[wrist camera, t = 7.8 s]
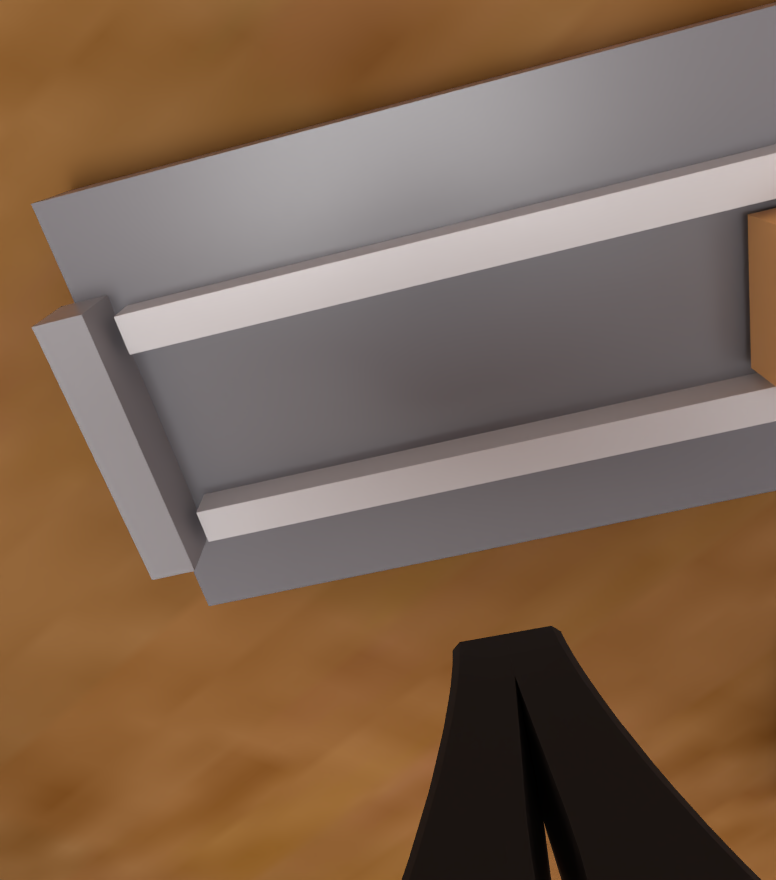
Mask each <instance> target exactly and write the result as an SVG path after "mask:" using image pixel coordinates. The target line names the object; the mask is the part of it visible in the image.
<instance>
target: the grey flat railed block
mask: <svg viewBox="0 0 776 880" xmlns="http://www.w3.org/2000/svg"><path fill="white" fill-rule="evenodd" d="M31 205H32V207H33V209H34V212H35V214H36V216H37V218H38V221H39V223H40V225H41V227H42V230H43V232H44V234H45V236H46V239H47V241H48V243H49V246H50V248H51V250H52V252H53V255H54V257H55V259H56V261H57V264H58V266H59V268H60V270H61V273H62V275H63V277H64V279H65V282H66V284H67V286H68V288H69V291H70V293H71V295H72V298H73V300H74V302H75V303H73V304H69V305H65V306H61V307H60V308H58V309H57V310H56V311H54V312H53V313H51V314H50V315H48V316H47V317H46V318H44V319H43V320H41V321H40V322H38V323H37V324H36V325H34V326H33V327H32V329H33V331H34V333H35V335H36V337H37V339H38V341H39V343H40V345H41V348H42V350H43V352H44V354H45V356H46V358H47V360H48V362H49V364H50V366H51V369H52V371H53V373H54V375H55V377H56V379H57V381H58V383H59V385H60V387H61V390H62V392H63V394H64V396H65V398H66V400H67V402H68V404H69V406H70V408H71V411H72V413H73V415H74V417H75V419H76V421H77V423H78V425H79V427H80V429H81V432H82V434H83V436H84V438H85V440H86V442H87V444H88V446H89V448H90V450H91V453H92V455H93V457H94V459H95V461H96V463H97V465H98V467H99V469H100V471H101V474H102V476H103V478H104V480H105V482H106V484H107V486H108V488H109V490H110V492H111V495H112V497H113V499H114V501H115V503H116V505H117V507H118V509H119V511H120V513H121V516H122V518H123V520H124V522H125V524H126V526H127V528H128V530H129V532H130V534H131V537H132V539H133V541H134V543H135V545H136V547H137V549H138V551H139V553H140V555H141V558H142V560H143V562H144V564H145V566H146V568H147V570H148V572H149V574H150V576H151V579H152V580H154V579H159V578H164V577H168V576H173V575H178V574H183V573H187V572H192V571H194V573H195V576H196V578H197V580H198V582H199V585H200V587H201V589H202V591H203V594H204V596H205V598H206V601H207V603H208V605H209V606H212V605H217V604H222V603H227V602H231V601H236V600H241V599H246V598H251V597H256V596H261V595H266V594H271V593H276V592H280V591H285V590H290V589H295V588H300V587H305V586H310V585H315V584H320V583H325V582H330V581H334V580H339V579H344V578H349V577H354V576H359V575H364V574H369V573H374V572H379V571H383V570H388V569H393V568H398V567H403V566H408V565H413V564H418V563H423V562H428V561H432V560H437V559H442V558H447V557H452V556H457V555H462V554H467V553H472V552H477V551H482V550H486V549H491V548H496V547H501V546H506V545H511V544H516V543H521V542H526V541H531V540H535V539H540V538H545V537H550V536H555V535H560V534H565V533H570V532H575V531H580V530H584V529H589V528H594V527H599V526H604V525H609V524H614V523H619V522H624V521H629V520H634V519H638V518H643V517H648V516H653V515H658V514H663V513H668V512H673V511H678V510H683V509H687V508H692V507H697V506H702V505H707V504H712V503H717V502H722V501H727V500H732V499H736V498H741V497H746V496H751V495H756V494H761V493H766V492H771V491H776V386H774V385H773V384H772V383H770V382H769V381H768V380H766V379H765V378H764V377H763V376H761V375H760V374H759V373H757V372H756V371H755V370H753V369H752V368H751V343H750V298H749V254H748V214H752V213H756V212H760V211H765V210H769V209H773V208H776V2H774V3H770V4H766V5H762V6H759V7H755V8H751V9H747V10H744V11H740V12H736V13H732V14H729V15H725V16H721V17H717V18H714V19H710V20H706V21H702V22H699V23H695V24H691V25H687V26H684V27H680V28H676V29H672V30H669V31H665V32H661V33H658V34H654V35H650V36H646V37H643V38H639V39H635V40H631V41H628V42H624V43H620V44H616V45H613V46H609V47H605V48H601V49H598V50H594V51H590V52H586V53H583V54H579V55H575V56H571V57H568V58H564V59H560V60H556V61H553V62H549V63H545V64H542V65H538V66H534V67H530V68H527V69H523V70H519V71H515V72H512V73H508V74H504V75H500V76H497V77H493V78H489V79H485V80H482V81H478V82H474V83H470V84H467V85H463V86H459V87H455V88H452V89H448V90H444V91H440V92H437V93H433V94H429V95H426V96H422V97H418V98H414V99H411V100H407V101H403V102H399V103H396V104H392V105H388V106H384V107H381V108H377V109H373V110H369V111H366V112H362V113H358V114H354V115H351V116H347V117H343V118H339V119H336V120H332V121H328V122H324V123H321V124H317V125H313V126H310V127H306V128H302V129H298V130H295V131H291V132H287V133H283V134H280V135H276V136H272V137H268V138H265V139H261V140H257V141H253V142H250V143H246V144H242V145H238V146H235V147H231V148H227V149H223V150H220V151H216V152H212V153H208V154H205V155H201V156H197V157H194V158H190V159H186V160H182V161H179V162H175V163H171V164H167V165H164V166H160V167H156V168H152V169H149V170H145V171H141V172H137V173H134V174H130V175H126V176H122V177H119V178H115V179H111V180H107V181H104V182H100V183H96V184H92V185H89V186H85V187H81V188H78V189H74V190H70V191H67V192H64V193H62V194H59V195H56V196H53V197H50V198H47V199H44V200H41V201H38V202H35V203H33V204H31Z"/></svg>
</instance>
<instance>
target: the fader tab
mask: <svg viewBox="0 0 776 880" xmlns="http://www.w3.org/2000/svg"><path fill="white" fill-rule="evenodd" d="M748 254H749V298H750V343H751V368H752V369H753V370H755V371H756V372H757V373H759V374H760V375H761V376H763V377H764V378H765V379H766V380H768V381H769V382H770V383H772V384H773V385H774V386H776V208H773V209H769V210H765V211H760V212H756V213H752V214H748Z"/></svg>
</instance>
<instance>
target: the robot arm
mask: <svg viewBox="0 0 776 880" xmlns="http://www.w3.org/2000/svg"><path fill="white" fill-rule="evenodd" d="M544 824H545V827H546V831H547V834H548V837H549V840H550V844H551V847H552V850H553V853H554V857H555V860H556V863H557V866H558V870H559V873H560V876H561V879H562V880H761V879H760V878H759V877H758V876H757V875H756V874H755V873H754V872H753V871H752V870H751V869H750V868H749V867H748V866H747V865H746V864H745V863H744V862H743V861H742V860H741V859H740V858H739V857H738V856H737V855H736V854H735V853H734V852H733V851H732V850H731V849H730V848H729V847H728V846H727V845H726V844H725V843H724V842H723V840H722V839H721V838H720V837H719V836H718V835H717V834H716V833H715V832H714V831H713V830H712V829H711V828H710V827H709V826H708V825H707V823H706V822H705V821H704V820H703V819H702V818H701V817H700V816H699V815H698V813H697V812H696V811H695V810H694V809H693V808H692V807H691V806H690V805H689V803H688V802H687V801H686V800H685V799H684V798H683V797H682V796H681V795H680V793H679V792H678V791H677V790H676V789H675V788H674V787H673V786H672V784H671V783H670V782H669V781H668V780H667V779H666V777H665V776H664V775H663V774H662V773H661V772H660V770H659V769H658V768H657V767H656V766H655V765H654V763H653V762H652V761H651V760H650V758H649V757H648V756H647V755H646V753H645V752H644V751H643V750H642V748H641V747H640V746H639V745H638V744H637V742H636V741H635V740H634V739H633V737H632V736H631V735H630V734H629V732H628V731H627V730H626V729H625V727H624V726H623V725H622V724H621V722H620V721H619V720H618V718H617V717H616V716H615V714H614V713H613V712H612V710H611V709H610V708H609V706H608V705H607V704H606V702H605V701H604V700H603V698H602V697H601V695H600V694H599V693H598V691H597V690H596V688H595V687H594V685H593V684H592V683H591V681H590V680H589V678H588V677H587V675H586V674H585V672H584V671H583V669H582V668H581V666H580V665H579V663H578V661H577V660H576V658H575V657H574V655H573V653H572V652H571V650H570V648H569V646H568V645H567V643H566V641H565V639H564V637H563V635H562V633H561V631H559V630H557V629H556V628H554V627H552V626H548V627H542V628H537V629H531V630H526V631H520V632H514V633H509V634H503V635H498V636H492V637H486V638H481V639H475V640H470V641H464V642H460V643H459V644H458V645H457V646H456V647H455V648H454V650H453V668H452V679H451V688H450V695H449V702H448V707H447V713H446V719H445V724H444V730H443V734H442V739H441V743H440V747H439V751H438V756H437V760H436V764H435V769H434V773H433V777H432V782H431V785H430V789H429V793H428V797H427V800H426V803H425V807H424V810H423V813H422V817H421V820H420V823H419V827H418V830H417V833H416V837H415V840H414V843H413V847H412V850H411V853H410V857H409V860H408V863H407V866H406V869H405V872H404V875H403V878H402V880H551V875H550V868H549V860H548V852H547V844H546V836H545V828H544Z"/></svg>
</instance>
